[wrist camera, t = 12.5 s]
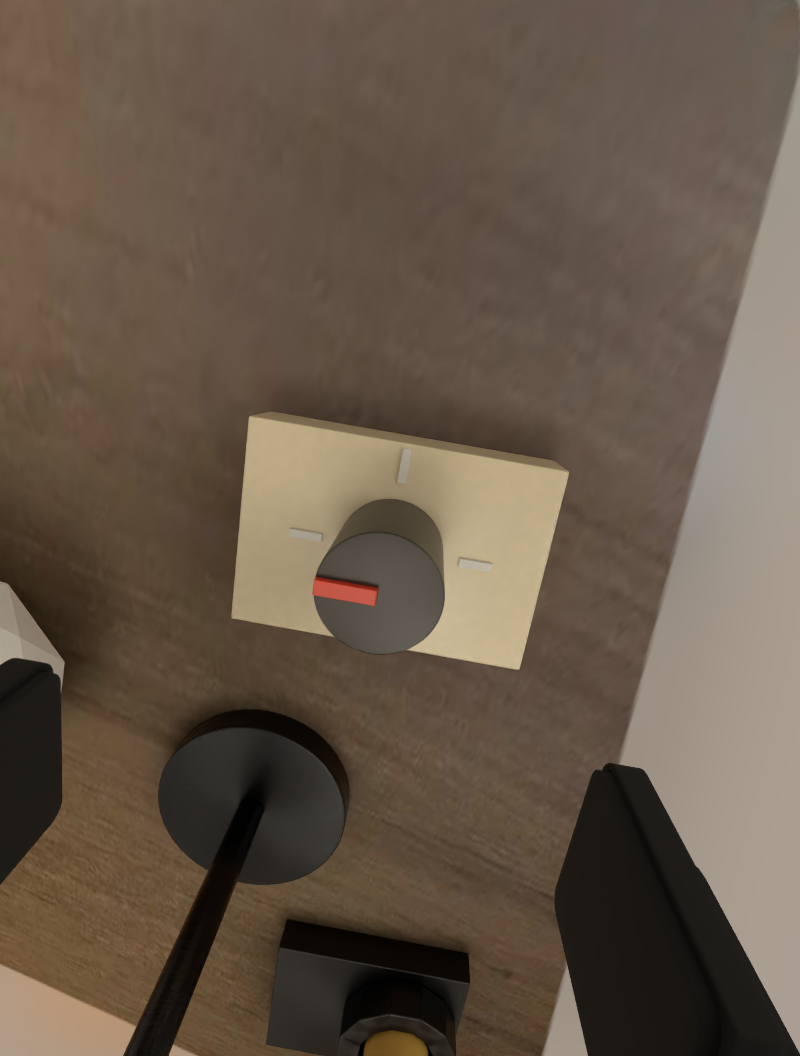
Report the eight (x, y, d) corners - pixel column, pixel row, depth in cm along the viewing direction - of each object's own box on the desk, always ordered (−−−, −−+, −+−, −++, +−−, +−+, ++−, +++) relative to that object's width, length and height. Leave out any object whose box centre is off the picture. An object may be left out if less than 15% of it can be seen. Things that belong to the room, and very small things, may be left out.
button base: (468, 953, 33) (472, 1019, 29) (443, 1046, 35) (444, 1118, 32) (287, 919, 33) (269, 981, 29) (273, 1013, 35) (256, 1081, 32)
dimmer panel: (554, 460, 25) (571, 472, 22) (510, 639, 27) (520, 672, 24) (270, 411, 25) (247, 415, 22) (252, 593, 27) (229, 620, 24)
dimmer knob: (451, 508, 22) (457, 547, 17) (432, 606, 24) (431, 670, 19) (346, 490, 23) (319, 523, 17) (332, 588, 24) (303, 647, 19)
